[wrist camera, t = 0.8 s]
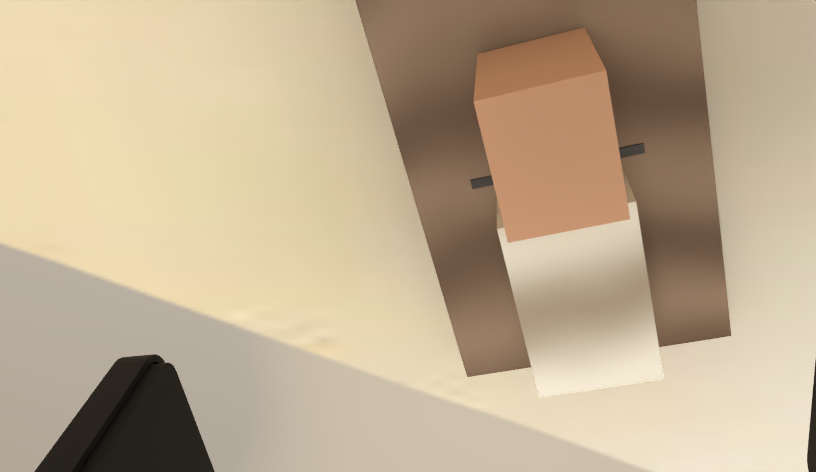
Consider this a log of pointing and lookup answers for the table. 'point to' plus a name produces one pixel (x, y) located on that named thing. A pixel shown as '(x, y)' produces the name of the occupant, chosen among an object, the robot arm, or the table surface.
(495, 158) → the stub
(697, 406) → the table surface
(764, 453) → the table surface
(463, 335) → the ticket board
